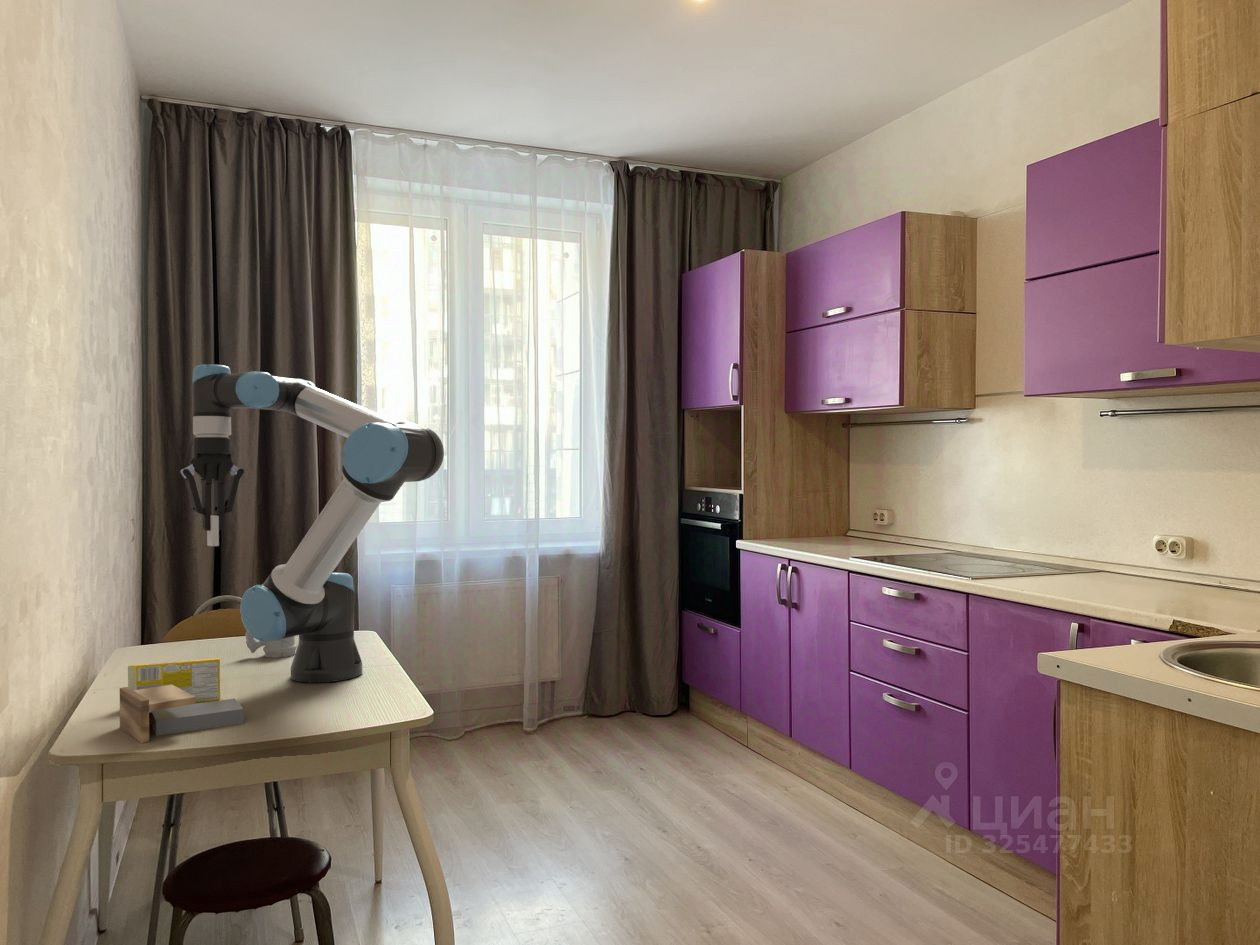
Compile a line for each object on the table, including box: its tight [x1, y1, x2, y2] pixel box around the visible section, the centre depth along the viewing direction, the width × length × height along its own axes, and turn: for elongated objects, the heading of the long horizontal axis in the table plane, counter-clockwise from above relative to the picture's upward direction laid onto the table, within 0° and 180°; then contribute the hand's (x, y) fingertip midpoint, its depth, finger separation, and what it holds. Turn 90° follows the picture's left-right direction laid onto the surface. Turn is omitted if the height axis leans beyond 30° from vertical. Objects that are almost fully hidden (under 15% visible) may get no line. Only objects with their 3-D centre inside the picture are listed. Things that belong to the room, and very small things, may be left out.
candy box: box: [127, 657, 221, 704], centre depth 177 cm, size 16×2×8 cm, turn 110°
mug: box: [244, 630, 298, 659], centre depth 223 cm, size 8×12×12 cm, turn 120°
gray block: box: [150, 697, 245, 736], centre depth 163 cm, size 14×9×3 cm, turn 123°
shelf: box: [119, 685, 197, 744], centre depth 158 cm, size 9×13×7 cm, turn 43°
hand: (213, 545), depth 195 cm, fingers closed
